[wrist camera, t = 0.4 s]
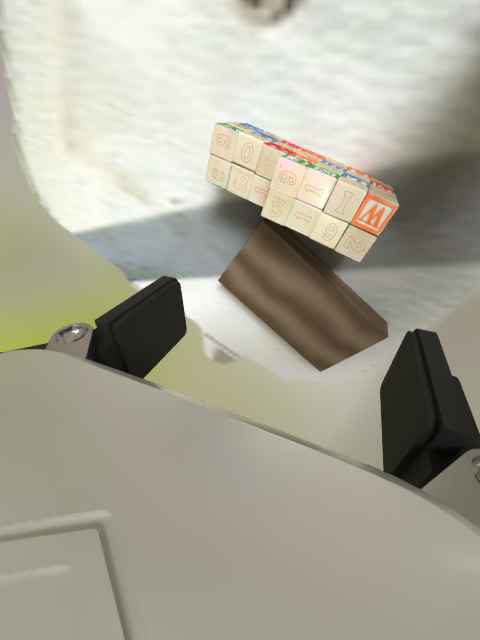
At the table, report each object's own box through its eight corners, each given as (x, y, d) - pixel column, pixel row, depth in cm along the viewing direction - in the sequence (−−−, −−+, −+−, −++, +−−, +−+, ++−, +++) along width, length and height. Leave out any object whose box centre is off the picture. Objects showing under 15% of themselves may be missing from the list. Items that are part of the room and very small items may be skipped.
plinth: (271, 214, 40) (262, 220, 37) (387, 322, 42) (387, 337, 39) (227, 271, 49) (217, 280, 46) (323, 358, 51) (320, 371, 48)
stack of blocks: (234, 171, 39) (190, 183, 30) (246, 122, 35) (200, 118, 26) (364, 231, 36) (360, 264, 27) (394, 185, 32) (401, 206, 23)
